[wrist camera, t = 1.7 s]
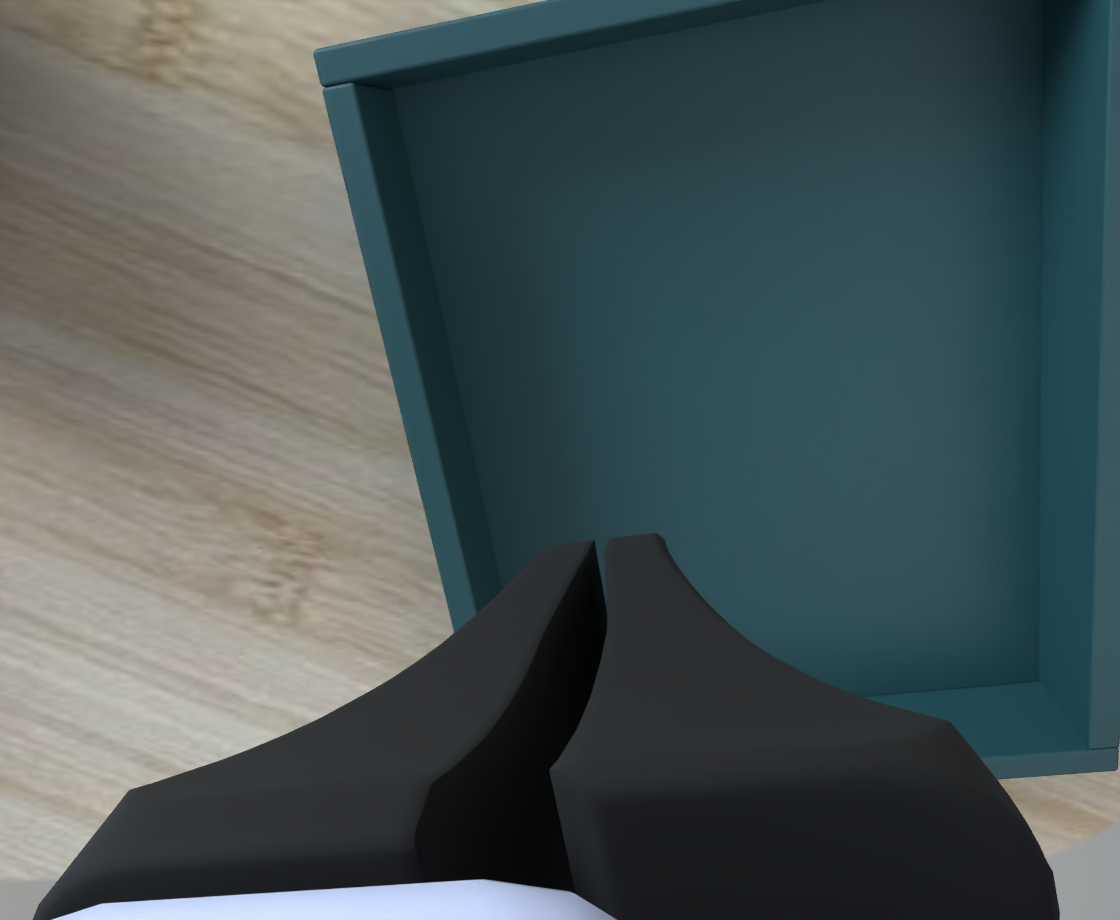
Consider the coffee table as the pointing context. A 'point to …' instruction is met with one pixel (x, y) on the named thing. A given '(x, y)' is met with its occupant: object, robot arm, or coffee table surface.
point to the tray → (774, 326)
